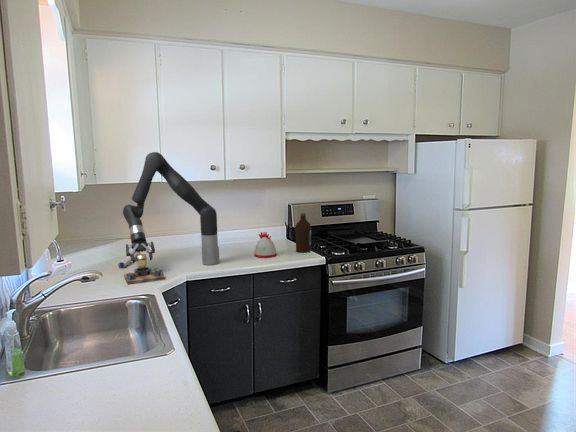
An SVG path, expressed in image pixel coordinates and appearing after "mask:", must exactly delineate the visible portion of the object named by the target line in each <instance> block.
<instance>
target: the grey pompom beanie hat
mask: <svg viewBox="0 0 576 432" xmlns="http://www.w3.org/2000/svg"><path fill="white" fill-rule="evenodd" d="M258 236H259V238H260V239H259V240H258V241H257V243H256V245H255V248H254V251H253V252H254V257H255V258H258V259H271V258H275V257H277V249H276V246H275V244H274V241H272V239H271V237H272V236H271V235H270V234H269V233H268V232H267V231H266V232H265V231H263V232H262V231H261V232H260V233H259V234H258Z"/></svg>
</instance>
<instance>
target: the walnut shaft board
mask: <svg viewBox="0 0 576 432" xmlns="http://www.w3.org/2000/svg"><path fill="white" fill-rule="evenodd" d="M155 270H156V269H151V271H155ZM123 278H124V280H125V282H126V284H127V286H128V285H135V284H143V283H149V282H156V281H164V280H166V276H165V275H164V274H163V275H162V276H155V275H146V276H139V277H136V279H134V280H127V273H123Z"/></svg>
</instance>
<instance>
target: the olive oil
mask: <svg viewBox="0 0 576 432" xmlns="http://www.w3.org/2000/svg"><path fill="white" fill-rule="evenodd" d="M294 232H295V234H294V235H295V252H297V253H300V254H301V253H302V254H305V253H310V252H311V249H312V248H311V247H312V245H311V244H312V225H311V223H310V222H309V221H308V220H307V219H306V213H305V212H301V213H300V219H299V221H297V223H295V226H294Z"/></svg>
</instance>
